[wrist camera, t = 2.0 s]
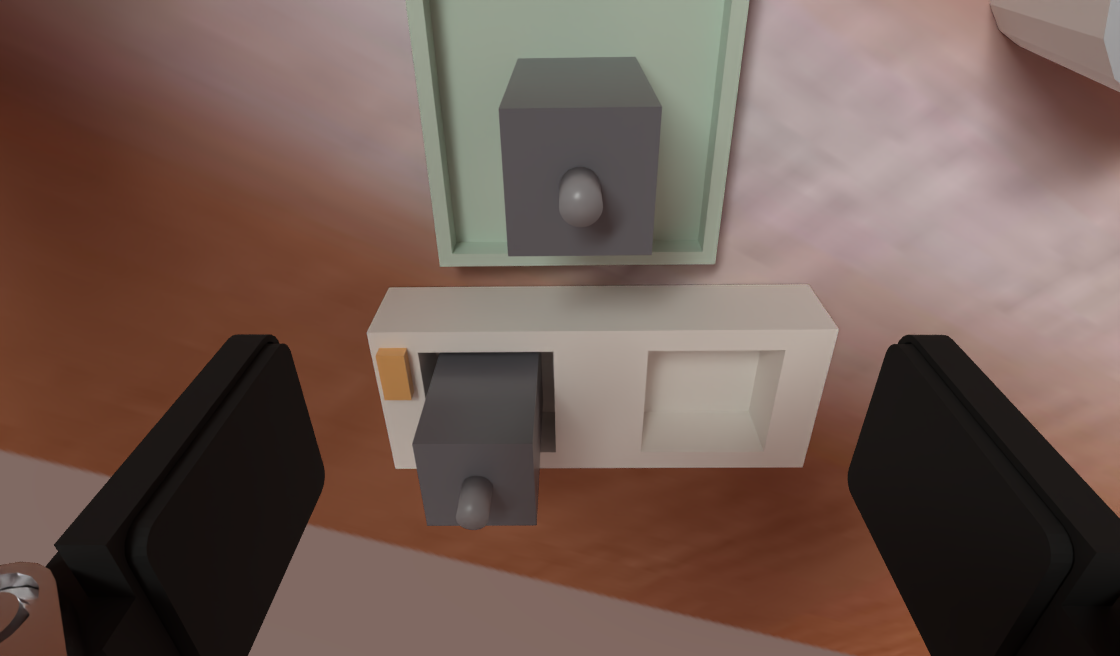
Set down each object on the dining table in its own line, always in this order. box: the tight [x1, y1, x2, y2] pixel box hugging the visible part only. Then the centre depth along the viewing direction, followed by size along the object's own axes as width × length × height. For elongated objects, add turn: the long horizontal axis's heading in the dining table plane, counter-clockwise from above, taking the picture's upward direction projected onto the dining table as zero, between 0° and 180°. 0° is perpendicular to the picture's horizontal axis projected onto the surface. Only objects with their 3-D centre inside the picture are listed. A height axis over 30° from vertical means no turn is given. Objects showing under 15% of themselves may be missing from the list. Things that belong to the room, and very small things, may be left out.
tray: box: [405, 0, 749, 267], centre depth 25 cm, size 12×12×2 cm
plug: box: [499, 57, 662, 256], centre depth 21 cm, size 4×4×10 cm
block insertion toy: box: [367, 284, 839, 530], centre depth 28 cm, size 8×20×11 cm, turn 91°
